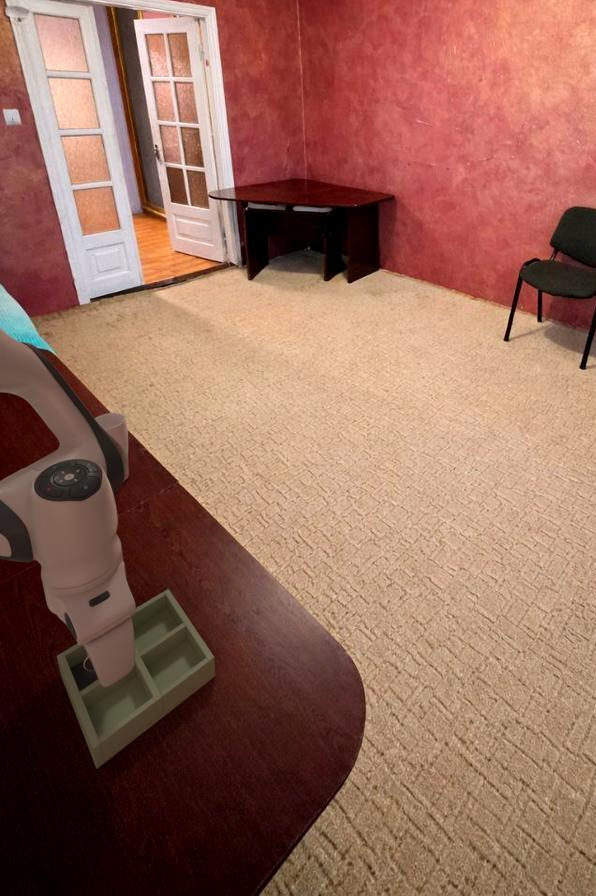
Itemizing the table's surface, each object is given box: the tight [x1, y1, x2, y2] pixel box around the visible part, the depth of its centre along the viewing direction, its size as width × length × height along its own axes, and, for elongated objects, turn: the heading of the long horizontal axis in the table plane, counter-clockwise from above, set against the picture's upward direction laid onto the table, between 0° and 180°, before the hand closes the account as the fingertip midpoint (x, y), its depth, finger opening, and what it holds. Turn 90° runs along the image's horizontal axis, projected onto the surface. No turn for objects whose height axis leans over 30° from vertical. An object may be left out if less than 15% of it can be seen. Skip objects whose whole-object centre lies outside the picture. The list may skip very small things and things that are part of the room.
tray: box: [56, 588, 217, 769], centre depth 69 cm, size 15×15×4 cm
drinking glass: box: [94, 412, 130, 482], centre depth 105 cm, size 7×7×15 cm
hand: (98, 652), depth 68 cm, fingers closed on wristwatch, 5 cm apart
